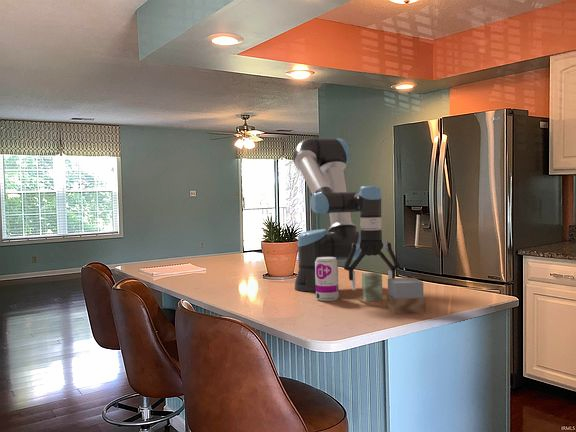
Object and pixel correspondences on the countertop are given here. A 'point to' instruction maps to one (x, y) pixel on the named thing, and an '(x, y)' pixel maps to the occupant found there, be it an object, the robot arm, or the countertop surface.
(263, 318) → the countertop surface
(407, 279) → the block
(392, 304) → the tower base
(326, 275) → the supplement can
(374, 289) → the pillar block
